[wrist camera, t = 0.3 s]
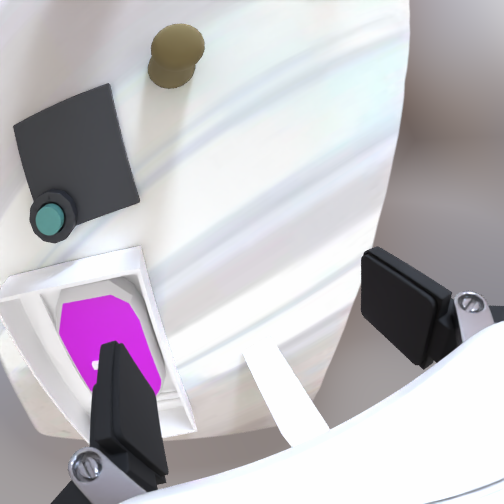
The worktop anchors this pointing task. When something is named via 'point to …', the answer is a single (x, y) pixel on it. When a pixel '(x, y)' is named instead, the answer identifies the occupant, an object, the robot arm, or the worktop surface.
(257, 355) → the milk
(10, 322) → the white tray with pad
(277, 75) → the worktop surface
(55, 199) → the scale
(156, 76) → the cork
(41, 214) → the button
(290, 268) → the worktop surface
